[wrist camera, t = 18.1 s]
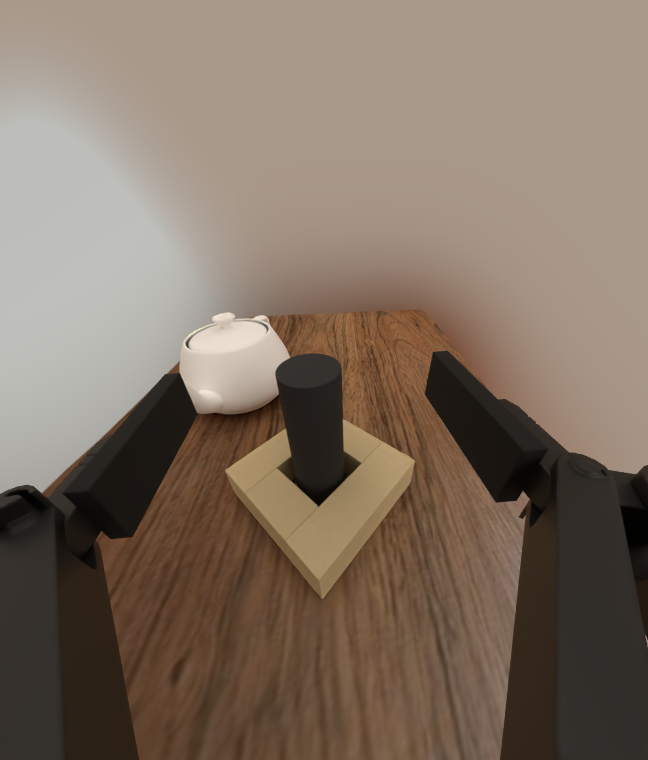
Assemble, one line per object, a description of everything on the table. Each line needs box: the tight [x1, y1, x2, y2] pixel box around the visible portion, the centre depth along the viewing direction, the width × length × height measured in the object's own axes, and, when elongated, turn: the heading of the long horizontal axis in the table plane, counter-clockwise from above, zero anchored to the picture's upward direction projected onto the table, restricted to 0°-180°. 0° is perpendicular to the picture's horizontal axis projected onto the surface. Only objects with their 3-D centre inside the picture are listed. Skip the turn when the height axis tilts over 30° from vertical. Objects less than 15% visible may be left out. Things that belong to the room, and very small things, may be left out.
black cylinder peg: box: [275, 354, 345, 507], centre depth 19 cm, size 4×4×12 cm
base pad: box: [225, 419, 415, 599], centre depth 21 cm, size 11×11×3 cm
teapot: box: [180, 313, 290, 414], centre depth 31 cm, size 22×14×11 cm, turn 168°
